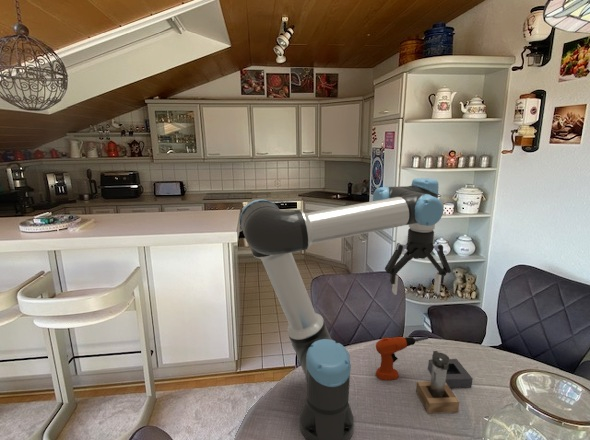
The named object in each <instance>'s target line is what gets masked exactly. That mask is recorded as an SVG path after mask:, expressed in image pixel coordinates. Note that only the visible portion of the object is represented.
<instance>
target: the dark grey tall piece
mask: <svg viewBox="0 0 590 440" xmlns="http://www.w3.org/2000/svg"><path fill="white" fill-rule="evenodd" d="M449 359H450V358H449V356H448V355H447V354H445V353H443V352H439V351H438V350H433V352H432V357H431V360H432V363H433V365H432V374H431V376H430V381H431V384H430V394H431V396H432V397H433V398H444V390H445V381H446V373H447V370H448V366H449Z"/></svg>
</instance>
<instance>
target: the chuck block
mask: <svg viewBox="0 0 590 440" xmlns="http://www.w3.org/2000/svg"><path fill="white" fill-rule="evenodd" d="M427 362H428V363H427V370H428V371H429V372H430V374H431V375H432V365H433V363H432V359H428V361H427ZM473 380H474V379H473V377H472V375H470V373H469V372H468V371H467V369H466V368H465V367H464V366H463V364H461V363H460V361H459V360H458V359H457V358H449V366H448V370H447V373H446V381H445V382H446V383H447V385H448V386H449V388H450V389H451V390H453V389H472V387H473Z"/></svg>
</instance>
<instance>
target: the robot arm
mask: <svg viewBox="0 0 590 440" xmlns="http://www.w3.org/2000/svg"><path fill="white" fill-rule="evenodd" d="M443 215H444V206H443V202H442V200H441V199H439V181H438V180H437V179H434V178H428V177H427V178H424V177H420V178H419V177H417V178H414V179H412V181H411V185H407V186H388V185H387V186H380V187H378V188H376V189H375V190H374V192H373V195H372V201H368V202H362V203H361V202H360V203H356V204H351V205H350V204H349V205H345V206H339V207H333V208H327V209H322V210H317V211H310V212H304V211H303V210H302V209H297V210H294V211H293V210H291V211H284V210H281V209H280V208H279V207H278V205H277V204H276V203H275V202H272V201H270V200H266V199H261V198H260V199H255V200H253V201H250V202H249V203H247V204H246V205H245V206H244V207H243V209H242V210H241V212H240V215H239V216H240V217H239V226H240V229H241V230H242V233H243V235H244V238H245V241H246V243H247V245H248V246H249V248H250V251H251V253H252V255H253V257H254V258H257V259H260V260H261V262H262V265H263V266H264V267H263V268H264V269H265V271H266V273H267V276H268V278H269V281H270V283H271V285H272V288H273V290H274V293H275V294H276V296H277V297H276V298H277V299H278V302H279V304H280V307H281V309H282V311H283V314H284V315H285V318H286V320H287V322H288V326H287V329H286V333H287V335H288V338H289V340H290V343H291V346H292V348H293V350H294V352H295V355H296V356H297V359H298V361H299V364H300V366H301V368H302V371H303V374H304V376H305V382H306V389H305V390H306V392H305V393H306V394H305V397H306V398H305V400H304V404H303V406H302V408H301V410H300V414H299V428H300V431H301V434H302V435H303V436H304V438H305V439H306V440H350V439H351V438H352V436H353V433H354V428H355V427H354V426H355V419H354V414H353V413H352V409H351V406H350V403H349V397H350V381H351V380H350V378H351V370H352V369H351V367H352V365H351V357H350V354H349V351H348V350H347V348H346V347H345V346H344V345H343V344H342V343H340V342H336V340H334V339H332V337H331V335H330V332H329V330H328V328H327V325H326V323H325V320H324V318H323V316H322V315H321V314H319V313H316V311H315V309H314V306H313V303H312V301H311V298H310V295H309V293H308V291H307V289H306V286H305V283H304V280H303V278H302V276H301V273H300V271H299V267H298V265H297V263H296V261H295V258H294V256H293V253H297V252H300V251H301V252H302V251H306V250H309V248H310V247H311V246H312V245H313V244H318V243H323V242H330V241H333V240H337V239H338V240H339V239H344V238H350V237H354V236H358V235H364V234H369V233H373V232H379V231H384V230H388V229H394V228H398V227H403V226H408V230H407V242H406V244H402V243H400V242H397V243H396V245H395V246H396V247H395V250H394V252H393V253H392V256H391V257H390V259H389V260H388V262H387V264H386V265H385V267H384V271H385V272H386V273H387V274H389V282H390V284H391V287H392V288H391V292H392V293H393V295H394V296H396V295H397V294H398V286H399V285H398V284H399V283H398V282H399V274H398V273H399V271H401V270H402V268H404V267H405V265H407V264H408V263H409V261H411V260H412V259H414V260H417V259H424V260H425V259H426V258H427V259H428V260H429V262H430V263H431V265H433V267H434V268H435V270H437V271H435V274H434V285H433V292H434V293H435V294H436V295H439V296H440V293H441V286H442V285H443V284H444V280H445V277H446V276H447V274H450V273H452V270H451V267H450V265H449V262H448V260H447V257H446V254H445V252H444V245H443V244H441V243H439V242H437V243H436V244H434V236H435V231H434V230H435V229H436V228H435V227H436V224H438V223H439V222H440V220H441V218H442V217H443ZM405 250H406V251H405ZM433 250H434V251H436V253H437V255H438V258H439V260H440V263H441V265H442V266H441V265H440V264H439V263H438V261H437V260H436V259H435V258H434V256H433V255H432V254H431V253H432V252H433ZM404 251H405V253H404V254H403V256H402V257H401V255H402V253H403V252H404ZM400 257H401V258H400Z"/></svg>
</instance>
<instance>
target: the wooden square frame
mask: <svg viewBox="0 0 590 440" xmlns="http://www.w3.org/2000/svg"><path fill="white" fill-rule="evenodd" d="M430 384H431V380H427V381H425V380H424V381H416V388H415V389H416V390H415V392H416V394H417V395H418V397H419V399H420V401H421V403H422V405H423V407H424V408H425V410H426V412H427V413H428V414H439V413H441V414H442V413H444V414H445V413H458V412H459V408H460V400H459V399H458V397H457V396H456V395H455V393H454V392H453V390H452V389H450V388H449V386H448V385H447V383H446V382H445V390H444V398H433V397H432V396H431V394H430Z"/></svg>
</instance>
